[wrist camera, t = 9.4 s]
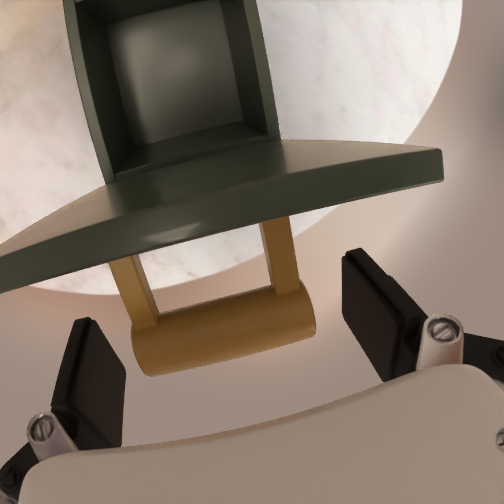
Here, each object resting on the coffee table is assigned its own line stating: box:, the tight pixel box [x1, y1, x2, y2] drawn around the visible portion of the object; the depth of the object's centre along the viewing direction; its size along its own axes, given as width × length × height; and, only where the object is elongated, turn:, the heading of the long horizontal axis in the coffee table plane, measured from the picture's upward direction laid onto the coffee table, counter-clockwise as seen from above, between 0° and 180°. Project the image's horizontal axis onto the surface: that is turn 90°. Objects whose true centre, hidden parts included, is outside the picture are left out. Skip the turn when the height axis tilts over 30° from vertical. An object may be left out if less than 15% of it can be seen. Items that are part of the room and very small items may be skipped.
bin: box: [63, 0, 281, 184], centre depth 20 cm, size 14×12×10 cm
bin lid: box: [0, 140, 444, 377], centre depth 13 cm, size 14×12×5 cm
